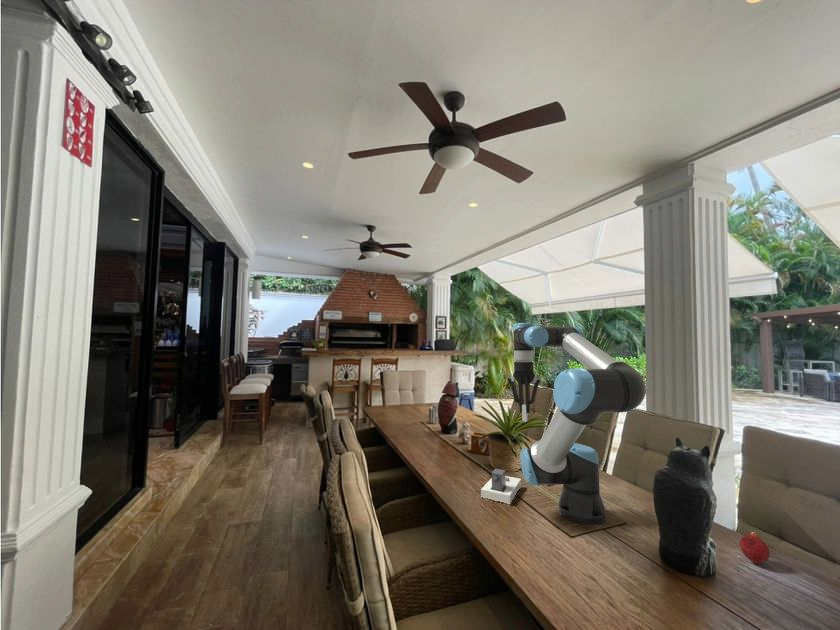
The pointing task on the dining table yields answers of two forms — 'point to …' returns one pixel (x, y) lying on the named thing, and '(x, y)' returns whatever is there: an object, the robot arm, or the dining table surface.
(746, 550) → the red oval piece
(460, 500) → the dining table surface
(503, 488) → the plug
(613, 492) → the dining table surface
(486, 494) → the socket
